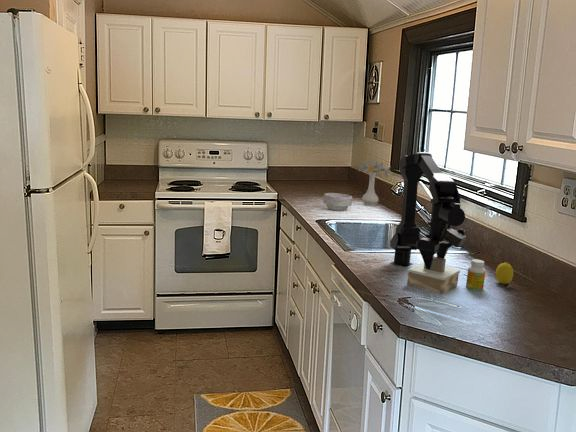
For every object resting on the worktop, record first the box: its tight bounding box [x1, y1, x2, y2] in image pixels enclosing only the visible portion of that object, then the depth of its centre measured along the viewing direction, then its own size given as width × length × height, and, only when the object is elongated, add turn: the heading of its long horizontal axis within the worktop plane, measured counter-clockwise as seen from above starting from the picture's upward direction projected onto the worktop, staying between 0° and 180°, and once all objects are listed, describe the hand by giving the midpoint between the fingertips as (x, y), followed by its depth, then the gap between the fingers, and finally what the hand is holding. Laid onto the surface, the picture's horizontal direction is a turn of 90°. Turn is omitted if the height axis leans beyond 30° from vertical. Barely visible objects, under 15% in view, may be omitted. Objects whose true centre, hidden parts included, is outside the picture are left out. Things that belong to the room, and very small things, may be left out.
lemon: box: [495, 261, 514, 285], centre depth 199 cm, size 6×6×8 cm
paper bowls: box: [323, 192, 353, 212], centre depth 317 cm, size 15×15×8 cm
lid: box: [407, 256, 461, 280], centre depth 191 cm, size 12×12×5 cm
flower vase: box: [357, 160, 392, 207], centre depth 335 cm, size 13×18×25 cm
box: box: [406, 271, 460, 295], centre depth 192 cm, size 12×12×5 cm
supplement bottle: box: [465, 258, 486, 292], centre depth 191 cm, size 5×5×10 cm
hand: (434, 266), depth 191 cm, fingers open, 9 cm apart
